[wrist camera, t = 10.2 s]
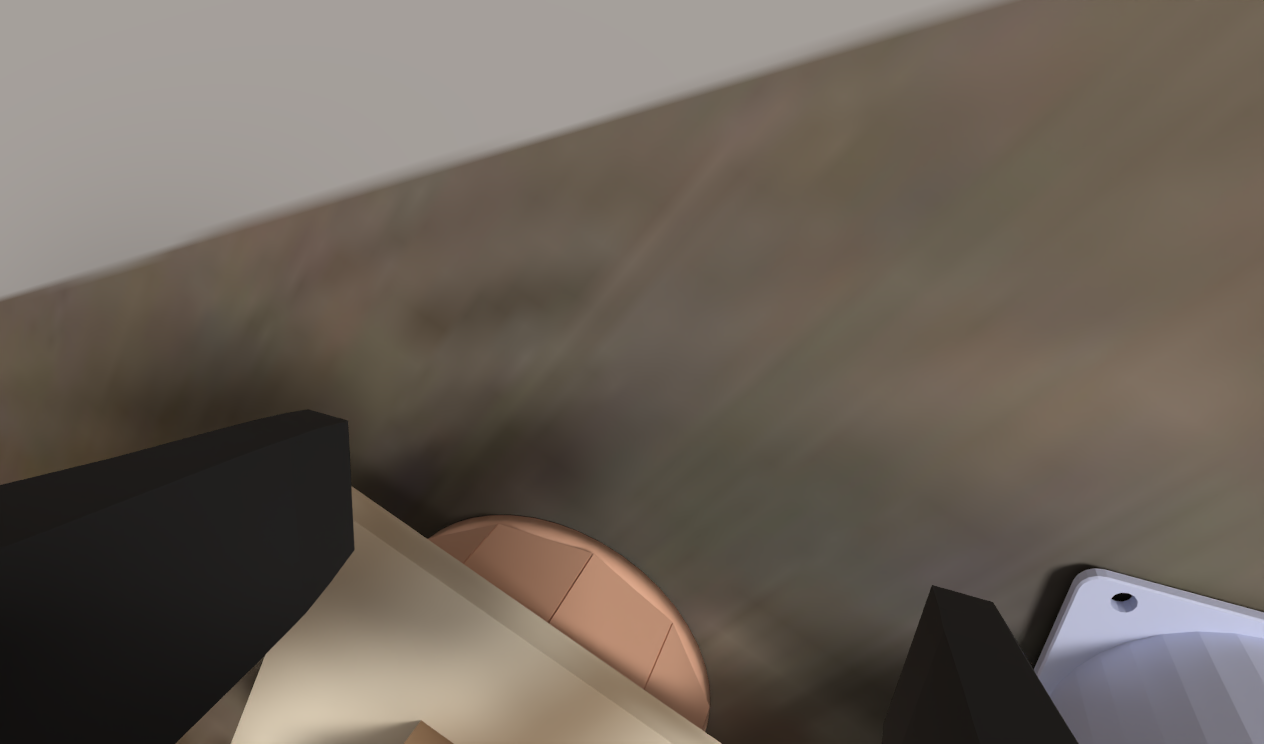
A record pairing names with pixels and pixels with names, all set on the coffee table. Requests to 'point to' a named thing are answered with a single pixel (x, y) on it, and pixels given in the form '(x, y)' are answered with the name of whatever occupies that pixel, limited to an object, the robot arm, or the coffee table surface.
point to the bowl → (589, 602)
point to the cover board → (438, 662)
